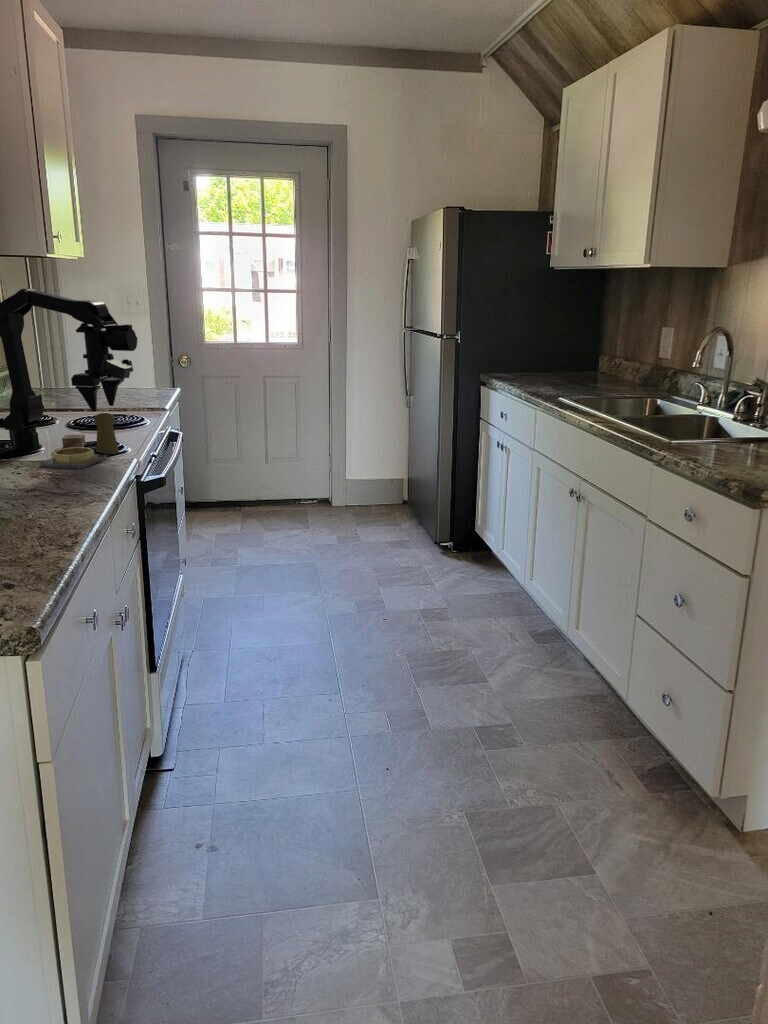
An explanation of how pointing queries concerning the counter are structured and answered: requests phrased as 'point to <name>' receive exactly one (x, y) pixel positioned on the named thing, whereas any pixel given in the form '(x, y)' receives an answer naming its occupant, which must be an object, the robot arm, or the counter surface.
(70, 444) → the walnut block
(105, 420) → the olive brown tapered cylinder
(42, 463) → the cup bracket
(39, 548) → the counter surface
